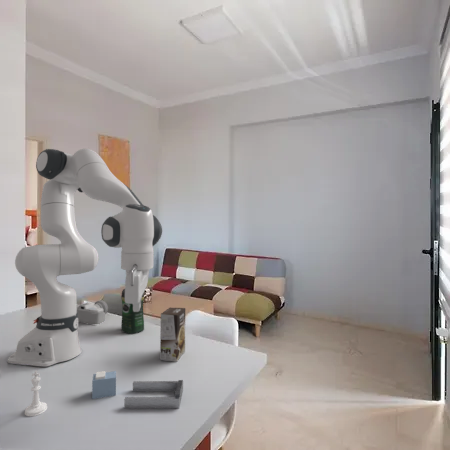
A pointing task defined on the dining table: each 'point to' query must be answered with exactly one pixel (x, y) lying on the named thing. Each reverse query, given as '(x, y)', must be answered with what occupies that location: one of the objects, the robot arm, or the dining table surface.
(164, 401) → the grey u-shaped piece
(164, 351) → the coffee box
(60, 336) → the robot arm
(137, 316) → the coffee jar
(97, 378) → the block
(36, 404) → the chess piece
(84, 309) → the digital camera
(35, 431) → the dining table surface
